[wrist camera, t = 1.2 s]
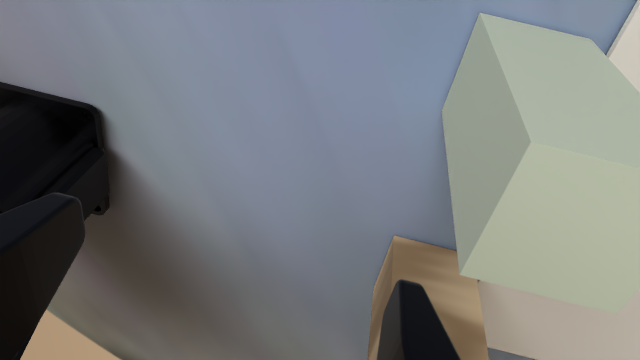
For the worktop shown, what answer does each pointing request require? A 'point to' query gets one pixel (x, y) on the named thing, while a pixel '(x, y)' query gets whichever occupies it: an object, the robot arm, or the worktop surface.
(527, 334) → the mat
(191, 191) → the worktop surface
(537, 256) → the sage block
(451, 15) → the worktop surface
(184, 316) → the worktop surface
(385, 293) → the oak block
